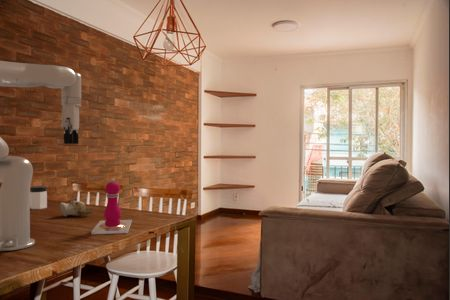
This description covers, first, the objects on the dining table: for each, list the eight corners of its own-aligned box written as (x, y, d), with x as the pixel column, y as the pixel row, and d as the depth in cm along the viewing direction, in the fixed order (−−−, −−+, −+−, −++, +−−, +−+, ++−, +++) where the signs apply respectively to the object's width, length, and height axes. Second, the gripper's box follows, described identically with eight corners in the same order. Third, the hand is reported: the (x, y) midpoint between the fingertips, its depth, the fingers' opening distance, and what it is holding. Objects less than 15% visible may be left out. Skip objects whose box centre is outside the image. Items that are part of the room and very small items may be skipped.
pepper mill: (100, 226, 146) (100, 179, 145) (109, 222, 153) (109, 177, 153) (116, 227, 144) (115, 179, 144) (124, 223, 151) (124, 178, 151)
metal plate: (127, 233, 140) (127, 229, 140) (91, 234, 138) (91, 231, 138) (131, 222, 160) (131, 219, 160) (100, 223, 157) (100, 220, 157)
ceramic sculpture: (60, 197, 176) (92, 197, 182) (59, 214, 176) (91, 214, 182) (59, 200, 166) (92, 201, 172) (58, 218, 166) (91, 218, 172)
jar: (39, 206, 199) (39, 185, 199) (50, 207, 196) (50, 186, 196) (25, 208, 191) (25, 187, 190) (36, 209, 188) (36, 187, 188)
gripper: (67, 104, 151) (67, 143, 151) (55, 99, 134) (55, 143, 134) (85, 105, 152) (85, 143, 153) (76, 100, 135) (75, 143, 136)
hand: (71, 143), depth 143 cm, fingers open, 9 cm apart
